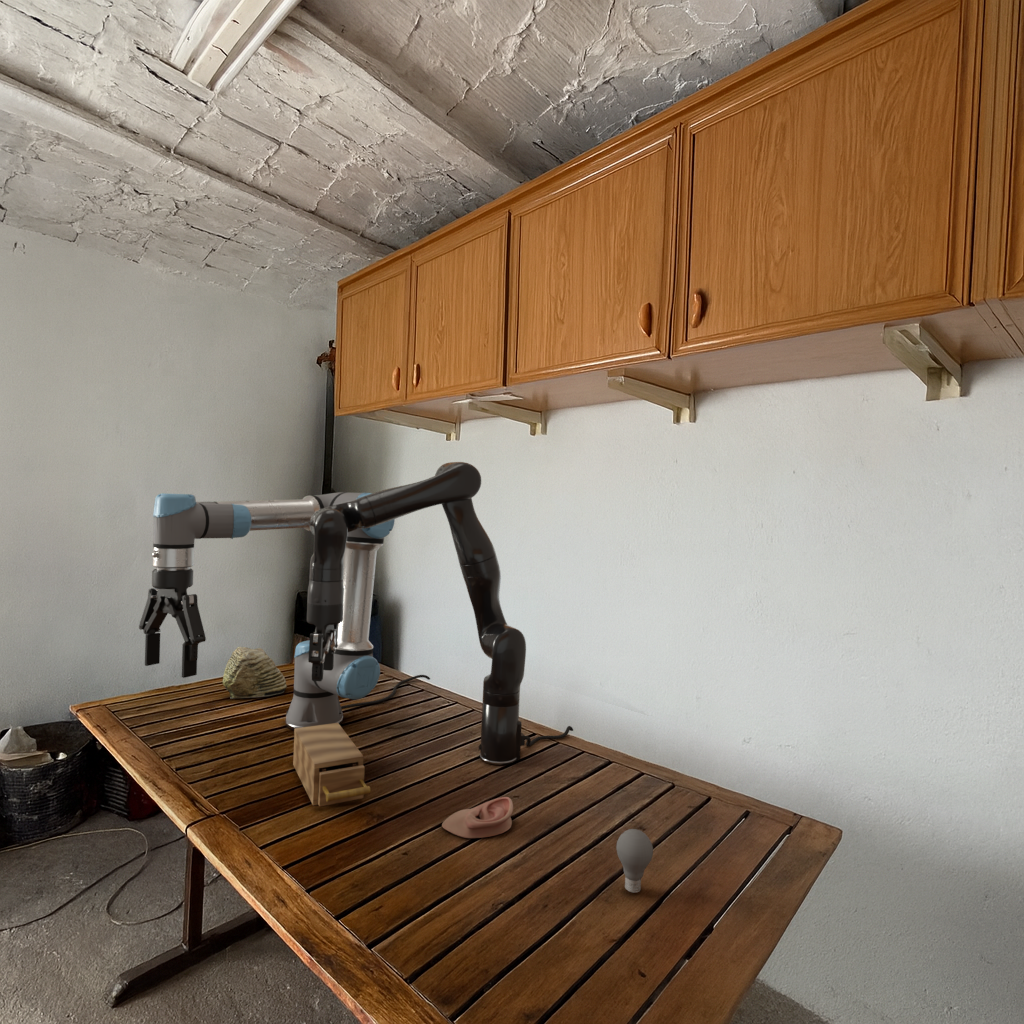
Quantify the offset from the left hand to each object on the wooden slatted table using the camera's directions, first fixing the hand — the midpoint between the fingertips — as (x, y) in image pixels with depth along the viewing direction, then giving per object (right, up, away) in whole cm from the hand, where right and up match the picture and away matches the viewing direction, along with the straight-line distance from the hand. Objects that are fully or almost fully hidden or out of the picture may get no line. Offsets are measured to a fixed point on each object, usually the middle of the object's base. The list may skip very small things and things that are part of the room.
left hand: (170, 670), depth 131 cm
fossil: (-10, -24, +67) cm, 72 cm away
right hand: (+30, -3, +6) cm, 31 cm away
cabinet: (+29, -27, +11) cm, 41 cm away
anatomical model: (+64, -29, -6) cm, 71 cm away
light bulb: (+91, -31, -26) cm, 99 cm away
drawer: (+32, -26, +5) cm, 42 cm away
